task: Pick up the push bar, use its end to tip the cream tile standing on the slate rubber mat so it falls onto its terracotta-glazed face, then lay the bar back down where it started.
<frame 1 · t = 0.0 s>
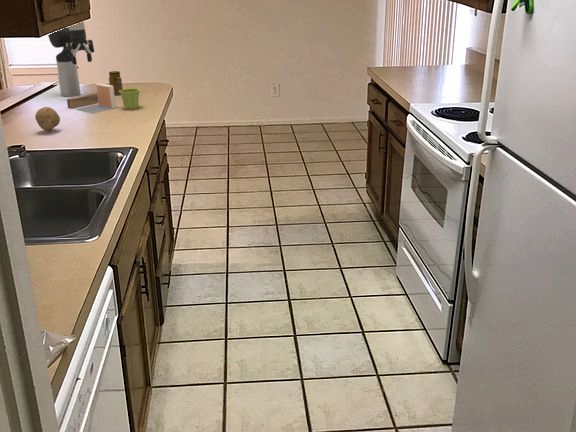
hand: (82, 63, 301), 17 cm above the counter, tool pointing down, fingers open, 8 cm apart
mat: (97, 109, 284), on the counter
tile: (109, 106, 288), point 1 cm above the counter, touching mat
push bar: (91, 105, 294), on the counter
plant pot: (131, 109, 284), on the counter
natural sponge: (50, 131, 250), on the counter
condiment: (117, 96, 312), on the counter
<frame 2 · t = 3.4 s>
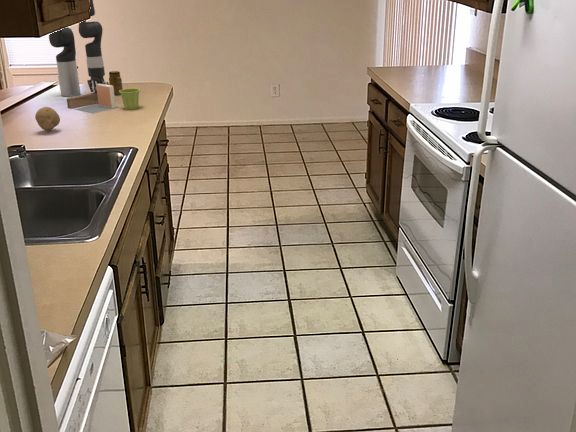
hand: (100, 101, 297), 0 cm above the counter, tool pointing down, fingers closed on push bar, 3 cm apart
push bar: (91, 104, 294), on the counter, touching gripper
everything else where it was.
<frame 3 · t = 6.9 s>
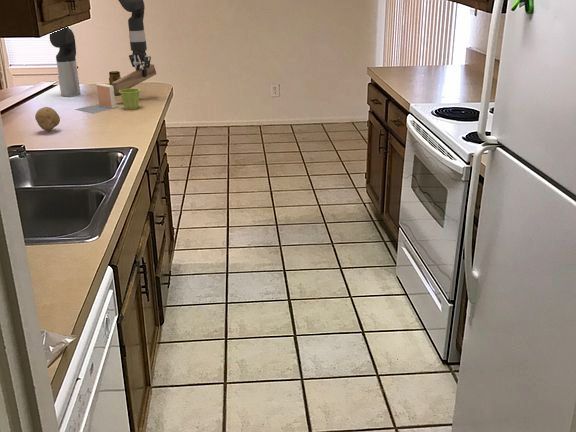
hand: (142, 76, 299), 11 cm above the counter, tool pointing down, fingers closed on push bar, 3 cm apart
push bar: (136, 83, 297), point 8 cm above the counter, tilted 13°, touching gripper
everything else where it was.
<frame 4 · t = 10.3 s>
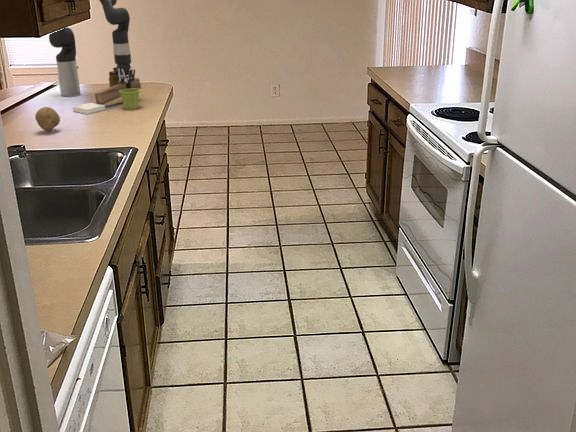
hand: (126, 89, 293), 6 cm above the counter, tool pointing down, fingers closed on push bar, 3 cm apart
tile: (97, 104, 282), point 3 cm above the counter, tilted 90°, touching mat
push bar: (119, 96, 291), point 4 cm above the counter, tilted 8°, touching gripper
everything else where it was.
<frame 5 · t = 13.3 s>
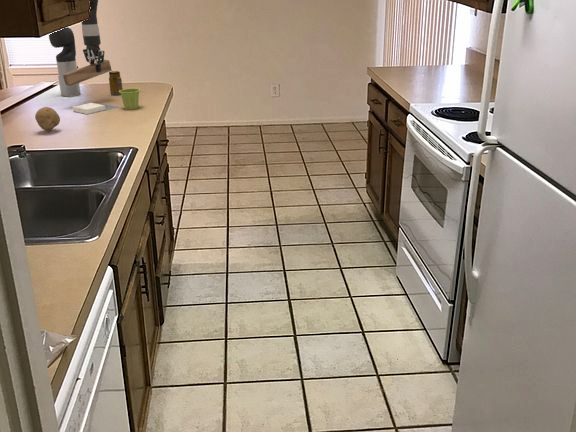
hand: (96, 71, 292), 15 cm above the counter, tool pointing down, fingers closed on push bar, 3 cm apart
push bar: (89, 77, 289), point 13 cm above the counter, tilted 8°, touching gripper
everything else where it was.
when the fingers open (1 cm above the counter, at t = 15.9 s): push bar stays where it is, on the counter.
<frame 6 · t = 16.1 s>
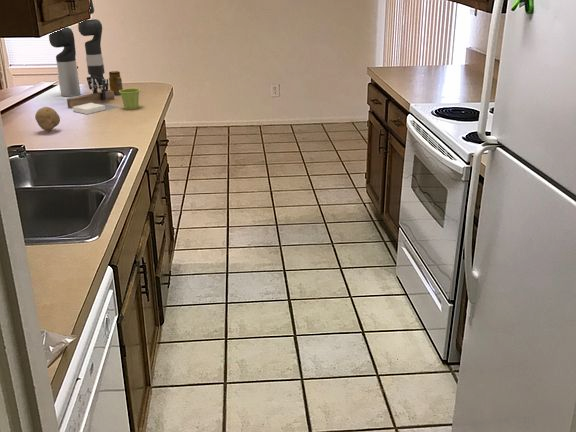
hand: (100, 99, 297), 2 cm above the counter, tool pointing down, fingers open, 5 cm apart
push bar: (92, 105, 294), on the counter
everything else where it was.
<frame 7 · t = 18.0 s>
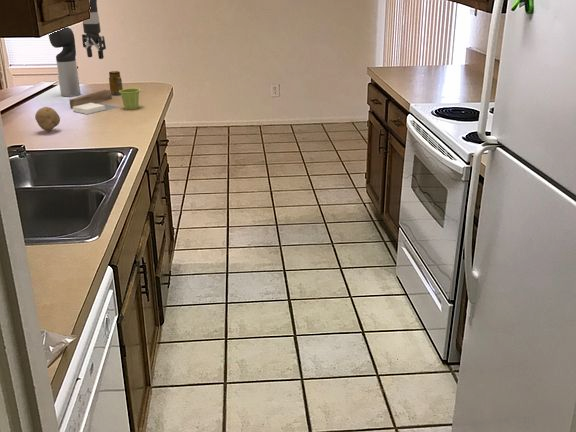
hand: (95, 58, 290), 21 cm above the counter, tool pointing down, fingers open, 8 cm apart
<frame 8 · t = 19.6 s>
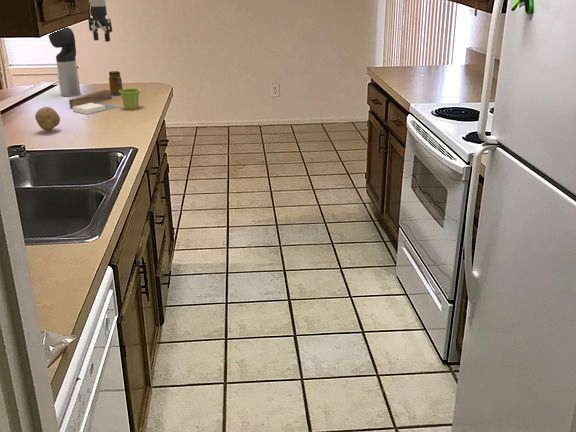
hand: (102, 40, 293), 28 cm above the counter, tool pointing down, fingers open, 8 cm apart
nothing on the counter moved.
at the end: tile tilted 90°; tile inside the target area on the mat (4.1 cm from its centre), point 2.7 cm above the mat's base; push bar inside the target area (0.3 cm from its centre), on the counter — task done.
